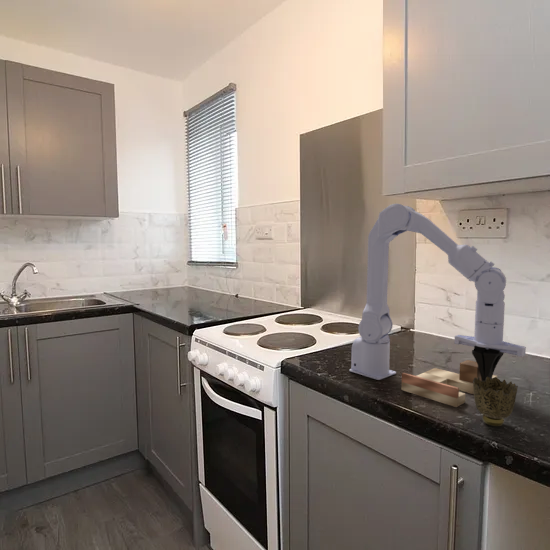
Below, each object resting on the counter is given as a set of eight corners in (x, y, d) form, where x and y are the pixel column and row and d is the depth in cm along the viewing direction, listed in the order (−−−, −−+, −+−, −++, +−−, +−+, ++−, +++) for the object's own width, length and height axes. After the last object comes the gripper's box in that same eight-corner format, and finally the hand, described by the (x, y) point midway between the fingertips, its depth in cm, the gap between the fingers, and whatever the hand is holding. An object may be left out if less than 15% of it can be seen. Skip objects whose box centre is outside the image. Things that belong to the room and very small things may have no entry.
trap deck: (401, 389, 94) (401, 373, 93) (445, 370, 107) (445, 356, 107) (456, 407, 84) (457, 388, 84) (496, 383, 98) (497, 367, 97)
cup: (500, 414, 80) (502, 375, 80) (524, 432, 73) (526, 389, 72) (464, 415, 80) (465, 376, 79) (484, 432, 73) (486, 390, 72)
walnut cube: (459, 379, 95) (459, 363, 95) (467, 376, 97) (467, 359, 97) (476, 384, 92) (477, 367, 91) (484, 380, 94) (484, 363, 94)
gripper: (449, 319, 93) (447, 376, 94) (518, 329, 82) (515, 394, 83) (463, 315, 98) (460, 370, 99) (530, 325, 87) (527, 386, 88)
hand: (486, 380), depth 91 cm, fingers closed
